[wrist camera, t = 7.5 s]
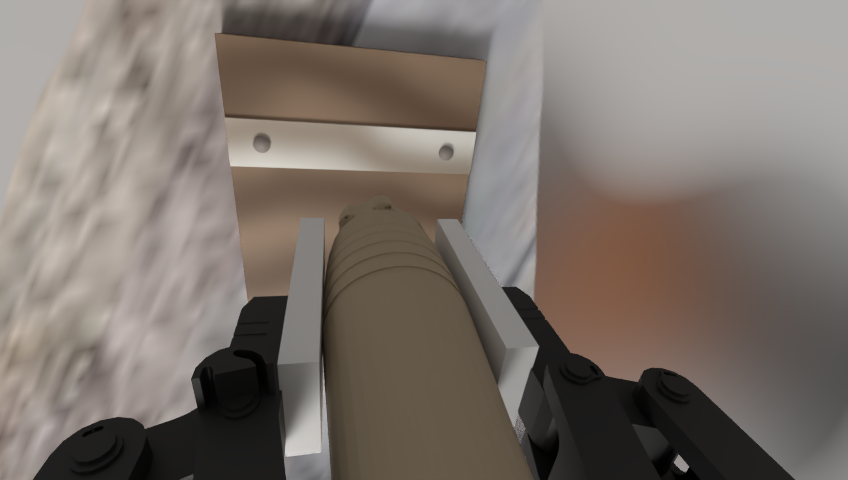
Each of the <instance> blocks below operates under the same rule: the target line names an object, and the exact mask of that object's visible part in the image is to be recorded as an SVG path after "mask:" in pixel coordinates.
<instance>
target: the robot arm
mask: <svg viewBox="0 0 848 480" xmlns="http://www.w3.org/2000/svg"><path fill="white" fill-rule="evenodd" d="M434 245H435V247H436V248H437V250H438V252H439V253H440V255H441V257H442V259H443V260H444V262H445V263H446V265H447V267H448V269H449V271H450V272H451V274H452V276H453V278H454V280H455V283H456V285H457V286H458V288H459V290H460V292H461V294H462V296H463V299H464V301H465V302H466V305H467V307H468V309H469V312H470V315H471V317H472V320H473V323H474V325H475V328H476V330H477V333H478V336H479V338H480V341H481V344H482V346H483V349H484V351H485V354H486V357H487V359H488V362H489V365H490V367H491V370H492V372H493V375H494V378H495V380H496V383H497V386H498V388H499V391H500V394H501V396H502V399H503V401H504V404H505V407H506V409H507V412H508V415H509V417H510V420H511V422H512V425H513V427H515V424H516V420H517V417H518V414H519V415H520V417H521V419H522V421H523V423H524V425H525V428H526V430H525V433H524V436H523V439H522V442H521V448H522V450H523V453H524V456H526V460H527V463H528V466H529V468H530V471H531V473H532V476H533V479H534V480H795V479H794V478H793V477H792V476H790V474H788V473H787V472H786V471H785V470H784V469H783V468H782V467H781V466H780V465H779V464H778V463H777V462H776V461H775V460H774V459H773V458H772V457H770V456H769V455H768V454H767V453H766V452H765V451H764V450H763V449H762V448H761V447H760V446H759V445H758V444H757V443H756V442H755V441H754V440H753V439H751V438H750V437H749V436H748V435H747V434H746V433H745V432H744V431H743V430H742V429H741V428H740V427H739V426H738V425H737V424H736V423H735V422H734V421H733V420H731V419H730V418H729V417H728V416H727V415H726V414H725V413H724V412H723V411H722V410H721V409H720V408H719V407H718V406H717V405H716V404H715V403H713V402H712V401H711V400H710V399H709V398H708V397H707V396H706V395H705V394H704V393H703V392H702V391H701V390H700V389H699V388H698V387H696V386H695V385H694V384H693V383H691V382H690V381H689V380H688V379H686V378H685V377H683V376H681V375H678V374H677V373H675V372H672V371H669V370H666V369H662V368H650V369H647V370H644V372H643V374H642V376H641V377H640V379H639V381H638V382H634V381H629V380H623V379H617V378H612V377H608V376H605V374H604V373H603V372H602V370H601V369H600V368H599V367H598V366H597V365H596V364H594V363H593V362H592V361H591V360H589V359H587V358H585V357H583V356H580V355H578V354H573V353H570V351H569V350H568V349H567V347H566V346H565V345H564V343H563V342H562V341H561V339H560V338H559V336H558V335H557V334H556V332H555V331H554V329H553V328H552V327H551V325H550V324H549V323H548V321H547V320H545V317H544V316H543V314H542V313H541V311H540V310H538V307H537V306H536V305H535V303H534V302H533V300H532V299H531V298H530V296H528V295H527V294H526V293H524V292H523V291H521V290H520V289H519V288H517V287H501V286H500V285H499V283H498V281H497V280H496V278H495V277H494V275H493V274H492V272H491V271H490V269H489V267H488V266H487V264H486V263H485V261H484V260H483V258H482V256H481V255H480V253H479V252H478V250H477V249H476V247H475V246H474V244H473V242H472V241H471V239H470V238H469V236H468V235H467V233H466V232H465V230H464V228H463V227H462V225H461V224H460V222H459V221H458V219H437V225H436V232H435V240H434ZM324 286H325V218H301V220H300V226H299V232H298V239H297V245H296V251H295V257H294V263H293V270H292V276H291V282H290V288H289V295H288V296H260V297H253V298H252V299H251V300H250V301H249V302H248V303H247V304H246V305H245V306H244V307H243V308H242V310H241V313H240V316H239V319H238V322H237V326H236V329H235V332H234V337H233V338H232V341H231V345H230V347H228V348H225V349H221V350H218V351H217V352H215V353H213V354H211V355H210V356H208V357H206V358H205V359H204V360H203V361H202V362H201V363H200V364H199V365H198V366H197V367H196V368H195V371H194V373H193V376H192V378H191V381H192V385H193V390H194V394H195V398H196V403H197V407H198V408H196V409H195V410H193V411H191V412H190V413H188V414H186V415H183V416H181V417H179V418H176V419H174V420H171V421H168V422H165V423H162V424H159V425H156V426H153V427H150V428H147V429H144V426H143V425H142V424H141V423H139V422H138V421H136V420H135V419H132V418H122V417H116V418H111V419H106V420H101V421H98V422H96V423H93V424H91V425H89V426H87V427H84V428H82V429H80V430H79V431H77V432H76V433H74V434H73V435H71V436H70V437H69V438H67V439H66V440H64V441H63V442H62V443H61V444H60V445H59V446H58V447H57V448H56V450H55V451H54V452H53V453H52V454H51V455H50V456H49V457H48V459H47V460H46V462H45V463H44V465H43V466H42V467H41V469H40V470H39V472H38V473H37V474H36V476H35V477H34V479H33V480H286V475H285V466H284V452H285V455H286V457H288V456H297V455H305V454H313V453H321V448H322V408H323V367H324V365H323V350H322V321H323V293H324ZM678 455H680V456H681V457H682V458H683V460H684V461H685V462H686V463H687V464H688V466H689V468H688V470H687V472H686V473H685V472H683V471H681V470H680V469H679V468H678V467H677V466H676V465H675V464H674V461H675V459H676V458H677V456H678Z"/></svg>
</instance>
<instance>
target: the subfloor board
mask: <svg viewBox="0 0 848 480" xmlns="http://www.w3.org/2000/svg"><path fill="white" fill-rule="evenodd" d="M215 41H216V49H217V57H218V65H219V73H220V81H221V89H222V97H223V105H224V113H225V117H224V120H225V128H226V136H227V144H228V152H229V160H230V166H231V169H232V177H233V185H234V193H235V201H236V209H237V217H238V225H239V233H240V241H241V249H242V257H243V265H244V274H245V282H246V290H247V298H248V302H249V301H250V300H251V299H252V298H253V297H260V296H288V295H289V288H290V282H291V276H292V270H293V263H294V257H295V251H296V245H297V239H298V232H299V226H300V220H301V218H325V276H326V269H327V263H328V259H329V254H330V251H331V248H332V245H333V242H334V239H335V237H336V236H337V234H338V232H339V216H340V214H341V212H342V210H343V209H344V208H345V207H346V206H347V205H359V204H363V203H365V202H368V201H369V200H371V199H372V198H373V197H374V196H375V195H386V196H388V197H389V199H390V200H391V202H392V203H393V204H394V205H395V206H396V207H397V208H398V209H400V210H402V211H404V212H409V213H412V214H413V215H414V216H415V217H416V218H417V220H418V221H419V223H420V224H421V225H422V227H423V229H424V231H425V233H426V234H427V235H428V237H429V238H430V240H431V241H432V242H433V244H434V240H435V232H436V225H437V219H458V221H459V222H460V224H461V221H462V215H463V208H464V202H465V196H466V189H467V183H468V177H469V174H470V170H471V164H472V158H473V151H474V145H475V139H476V126H477V120H478V114H479V107H480V101H481V95H482V88H483V82H484V76H485V69H486V63H487V61H484V60H479V59H469V58H460V57H450V56H440V55H431V54H421V53H411V52H401V51H392V50H382V49H372V48H362V47H353V46H343V45H333V44H323V43H314V42H304V41H294V40H284V39H275V38H265V37H255V36H245V35H236V34H226V33H215Z"/></svg>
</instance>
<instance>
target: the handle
mask: <svg viewBox="0 0 848 480" xmlns="http://www.w3.org/2000/svg"><path fill="white" fill-rule="evenodd" d="M322 350H323V365H324V379H325V393H326V408H327V422H328V437H329V451H330V465H331V480H534V479H533V476H532V473H531V471H530V468H529V466H528V463H527V461H526V458H525V456H524V453H523V450H522V448H521V445H520V443H519V440H518V438H517V435H516V433H515V430H514V427H513V425H512V422H511V420H510V417H509V415H508V412H507V409H506V407H505V404H504V401H503V399H502V396H501V394H500V391H499V388H498V386H497V383H496V380H495V378H494V375H493V372H492V370H491V367H490V365H489V362H488V359H487V357H486V354H485V351H484V349H483V346H482V344H481V341H480V338H479V336H478V333H477V330H476V328H475V325H474V323H473V320H472V317H471V315H470V312H469V309H468V307H467V305H466V302H465V301H464V299H463V296H462V294H461V292H460V290H459V288H458V286H457V285H456V283H455V280H454V278H453V276H452V274H451V272H450V271H449V269H448V267H447V265H446V263H445V262H444V260H443V259H442V257H441V255H440V253H439V252H438V250H437V248H436V247H435V245H434V244H433V242H432V241H431V240H430V238H429V237H428V235H427V234H426V233H425V231H424V229H423V227H422V225H421V224H420V223H419V221H418V220H417V218H416V217H415V216H414V215H413V214H412V213H409V212H404V211H402V210H400V209H398V208H397V207H396V206H395V205H394V204H393V203H392V202H391V200H390V199H389V197H388V196H386V195H375V196H374V197H373V198H372V199H371V200H369V201H368V202H365V203H363V204H359V205H347V206H346V207H345V208H344V209H343V210H342V212H341V214H340V216H339V232H338V234H337V236H336V237H335V239H334V242H333V245H332V248H331V251H330V254H329V259H328V263H327V269H326V276H325V286H324V293H323V321H322Z"/></svg>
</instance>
